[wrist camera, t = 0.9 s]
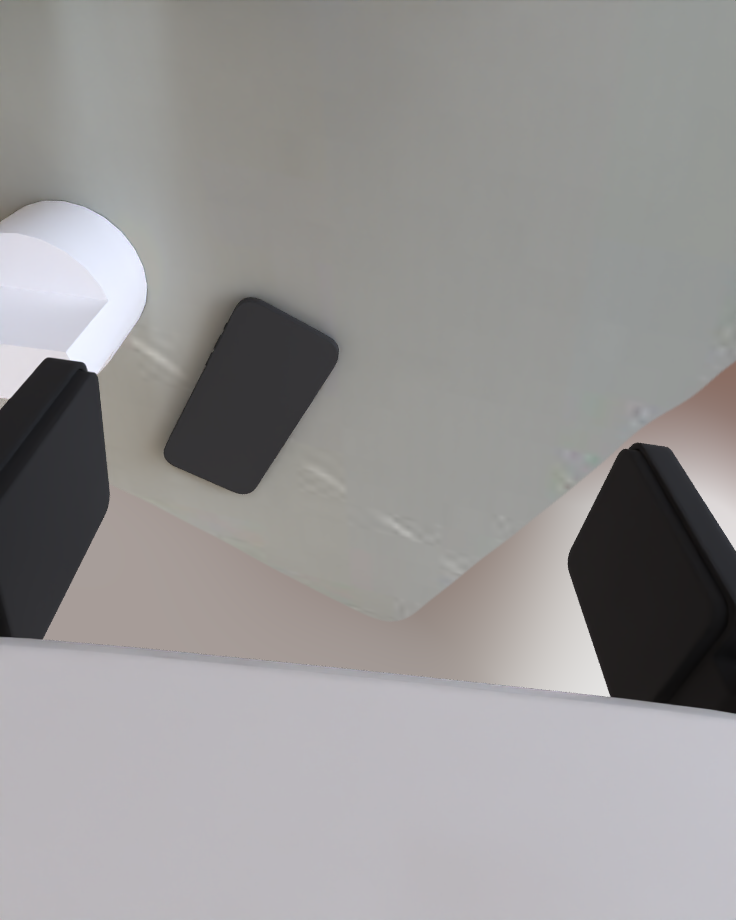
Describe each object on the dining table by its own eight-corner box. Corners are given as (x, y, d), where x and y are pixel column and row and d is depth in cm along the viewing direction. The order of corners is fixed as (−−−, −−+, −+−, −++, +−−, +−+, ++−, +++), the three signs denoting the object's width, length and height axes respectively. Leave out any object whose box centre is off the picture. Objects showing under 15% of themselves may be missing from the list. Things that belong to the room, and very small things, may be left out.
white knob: (142, 212, 37) (63, 291, 28) (151, 349, 43) (87, 456, 33) (-18, 189, 37) (-156, 262, 27) (12, 331, 42) (-95, 435, 32)
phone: (157, 459, 47) (241, 293, 39) (160, 452, 48) (243, 288, 40) (249, 499, 49) (345, 350, 42) (251, 492, 50) (346, 344, 42)
